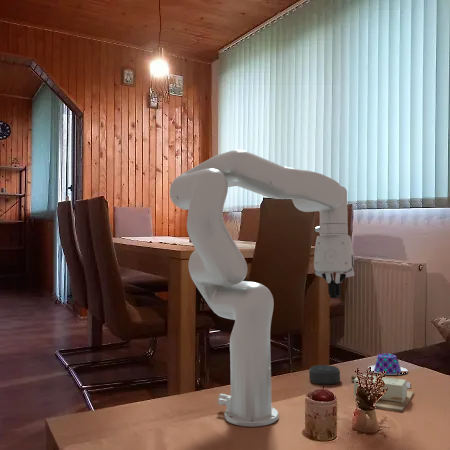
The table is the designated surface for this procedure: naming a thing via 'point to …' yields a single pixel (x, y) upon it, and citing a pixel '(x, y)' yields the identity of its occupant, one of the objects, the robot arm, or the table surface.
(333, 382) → the smart speaker
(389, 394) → the skincare box
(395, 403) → the beige flat slab
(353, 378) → the trowel prop
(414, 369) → the table surface
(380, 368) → the pudding
